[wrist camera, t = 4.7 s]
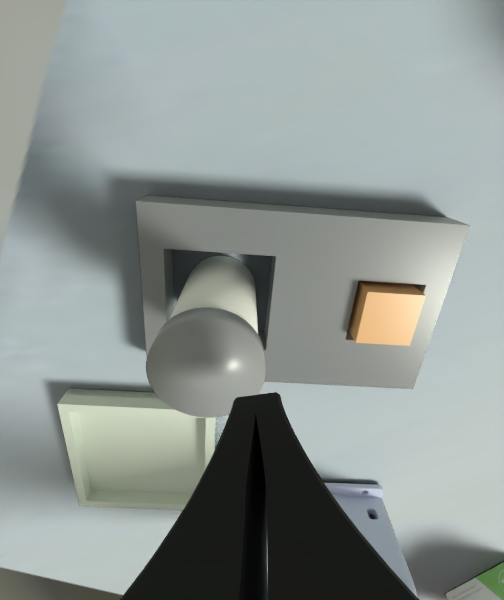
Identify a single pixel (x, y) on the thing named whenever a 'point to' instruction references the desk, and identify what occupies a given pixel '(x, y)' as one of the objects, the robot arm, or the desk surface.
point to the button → (385, 313)
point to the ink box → (481, 586)
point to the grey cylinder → (209, 342)
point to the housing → (308, 278)
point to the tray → (133, 449)
